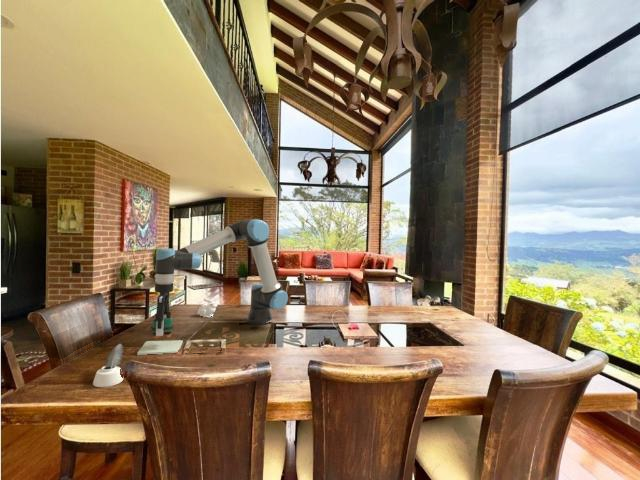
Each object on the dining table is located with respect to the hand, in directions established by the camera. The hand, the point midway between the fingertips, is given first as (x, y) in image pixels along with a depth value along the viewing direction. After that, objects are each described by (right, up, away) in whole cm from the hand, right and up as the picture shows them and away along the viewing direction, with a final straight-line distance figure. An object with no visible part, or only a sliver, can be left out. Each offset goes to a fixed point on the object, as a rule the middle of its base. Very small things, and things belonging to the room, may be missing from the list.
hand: (161, 331), depth 150 cm
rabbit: (+1, -7, +58) cm, 58 cm away
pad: (0, -7, 0) cm, 8 cm away
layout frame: (+18, -8, +5) cm, 21 cm away
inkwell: (-4, -8, -29) cm, 31 cm away
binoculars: (0, -2, 0) cm, 2 cm away
